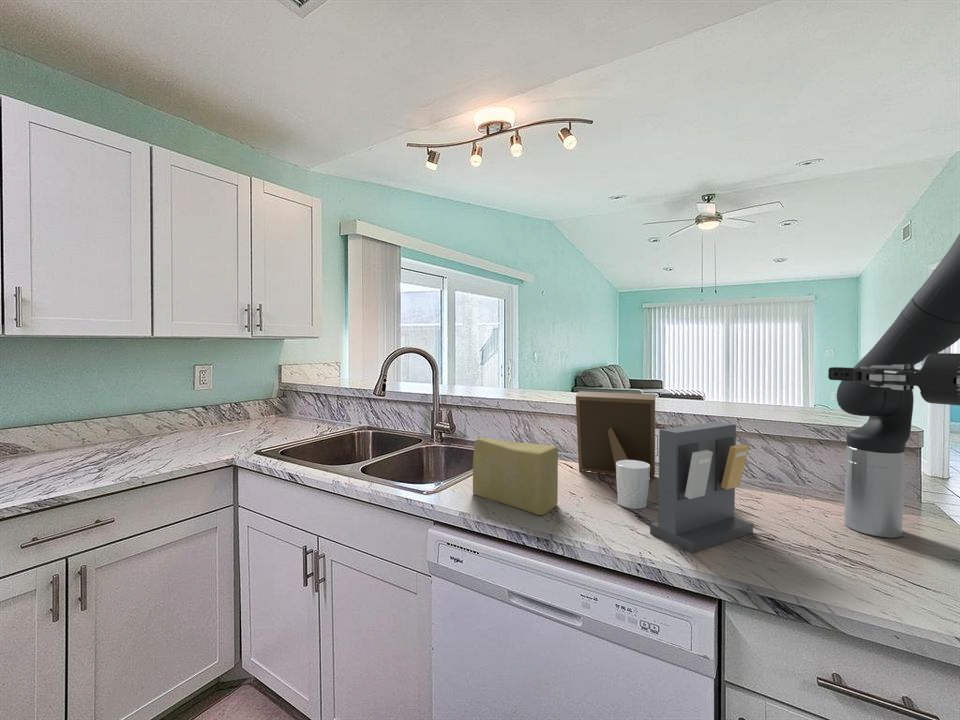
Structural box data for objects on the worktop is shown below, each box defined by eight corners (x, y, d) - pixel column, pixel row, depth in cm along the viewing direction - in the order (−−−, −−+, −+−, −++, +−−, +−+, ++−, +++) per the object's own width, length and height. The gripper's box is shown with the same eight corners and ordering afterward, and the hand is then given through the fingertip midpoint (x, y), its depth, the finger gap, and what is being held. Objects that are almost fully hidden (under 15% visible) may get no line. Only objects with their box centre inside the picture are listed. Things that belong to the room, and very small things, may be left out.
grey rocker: (699, 492, 89) (707, 449, 88) (705, 495, 88) (713, 452, 86) (684, 496, 87) (692, 452, 85) (690, 499, 86) (698, 455, 84)
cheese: (462, 499, 114) (462, 440, 114) (484, 489, 122) (484, 434, 122) (541, 518, 102) (541, 452, 101) (559, 505, 110) (559, 444, 109)
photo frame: (581, 467, 143) (582, 389, 142) (655, 475, 134) (656, 392, 133) (571, 481, 129) (572, 394, 128) (652, 491, 120) (653, 398, 119)
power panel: (708, 516, 102) (710, 420, 101) (752, 532, 93) (755, 427, 93) (650, 533, 93) (651, 427, 92) (693, 553, 84) (694, 436, 83)
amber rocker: (733, 483, 95) (743, 443, 93) (739, 486, 94) (749, 446, 92) (720, 486, 93) (730, 446, 91) (726, 489, 92) (736, 448, 90)
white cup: (609, 504, 110) (610, 464, 110) (624, 496, 116) (624, 458, 115) (641, 512, 105) (641, 470, 104) (654, 504, 110) (655, 463, 110)
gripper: (989, 353, 67) (849, 351, 82) (955, 354, 60) (810, 352, 76) (987, 403, 67) (848, 392, 82) (953, 409, 61) (809, 396, 76)
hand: (830, 373), depth 79 cm, fingers closed
